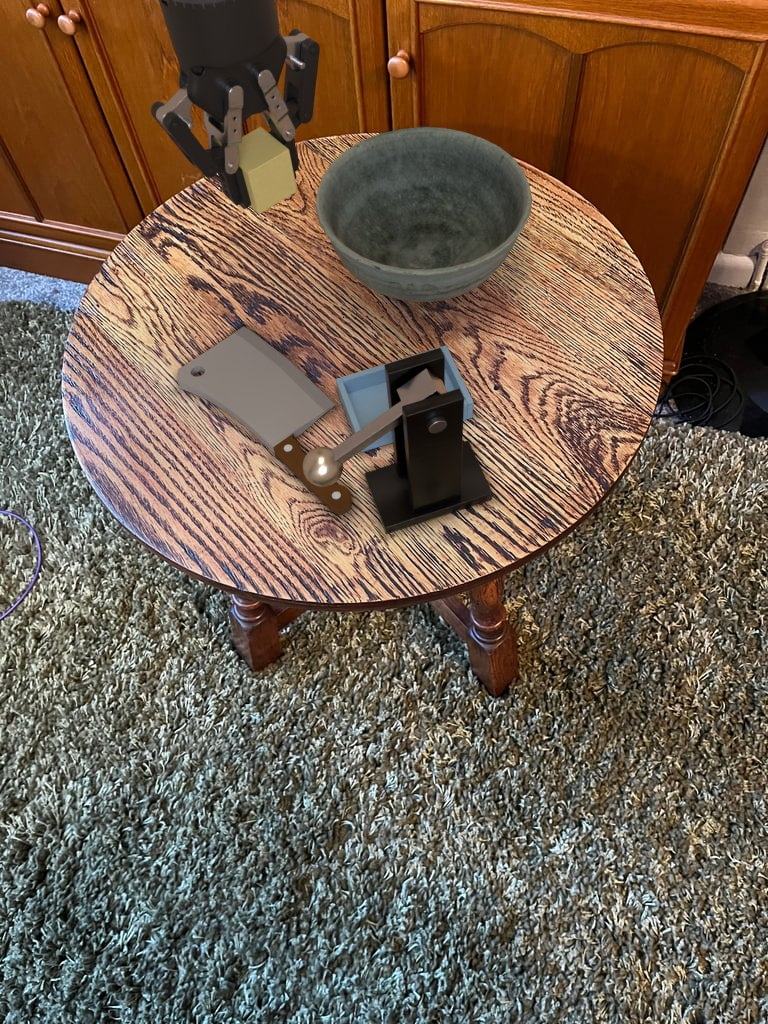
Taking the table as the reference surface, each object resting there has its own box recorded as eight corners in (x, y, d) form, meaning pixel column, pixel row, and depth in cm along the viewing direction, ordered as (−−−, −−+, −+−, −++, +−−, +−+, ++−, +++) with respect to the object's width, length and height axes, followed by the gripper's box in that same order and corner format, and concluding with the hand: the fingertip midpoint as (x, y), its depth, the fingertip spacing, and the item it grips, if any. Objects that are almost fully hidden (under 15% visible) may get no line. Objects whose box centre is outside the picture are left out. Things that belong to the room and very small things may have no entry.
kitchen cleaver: (405, 462, 70) (320, 527, 67) (405, 468, 71) (321, 532, 68) (247, 319, 80) (166, 370, 77) (249, 326, 81) (169, 377, 77)
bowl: (289, 291, 82) (270, 215, 73) (404, 178, 89) (399, 96, 80) (450, 377, 75) (451, 305, 66) (561, 247, 82) (575, 166, 73)
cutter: (385, 534, 68) (370, 434, 54) (365, 479, 70) (345, 370, 56) (492, 499, 68) (504, 392, 55) (468, 446, 71) (473, 331, 57)
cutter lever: (325, 498, 62) (300, 488, 59) (314, 467, 63) (290, 455, 61) (457, 409, 57) (436, 393, 55) (442, 377, 59) (421, 360, 56)
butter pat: (258, 214, 63) (247, 173, 60) (232, 190, 65) (220, 148, 61) (297, 191, 64) (289, 149, 61) (270, 168, 66) (260, 126, 62)
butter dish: (360, 453, 72) (357, 438, 70) (338, 394, 75) (335, 378, 73) (472, 417, 73) (473, 401, 71) (446, 361, 76) (446, 344, 74)
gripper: (266, -97, 53) (306, 130, 68) (85, -12, 49) (169, 208, 64) (331, -58, 50) (358, 171, 65) (143, 36, 46) (218, 255, 61)
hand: (264, 188), depth 64 cm, fingers closed on butter pat, 4 cm apart
